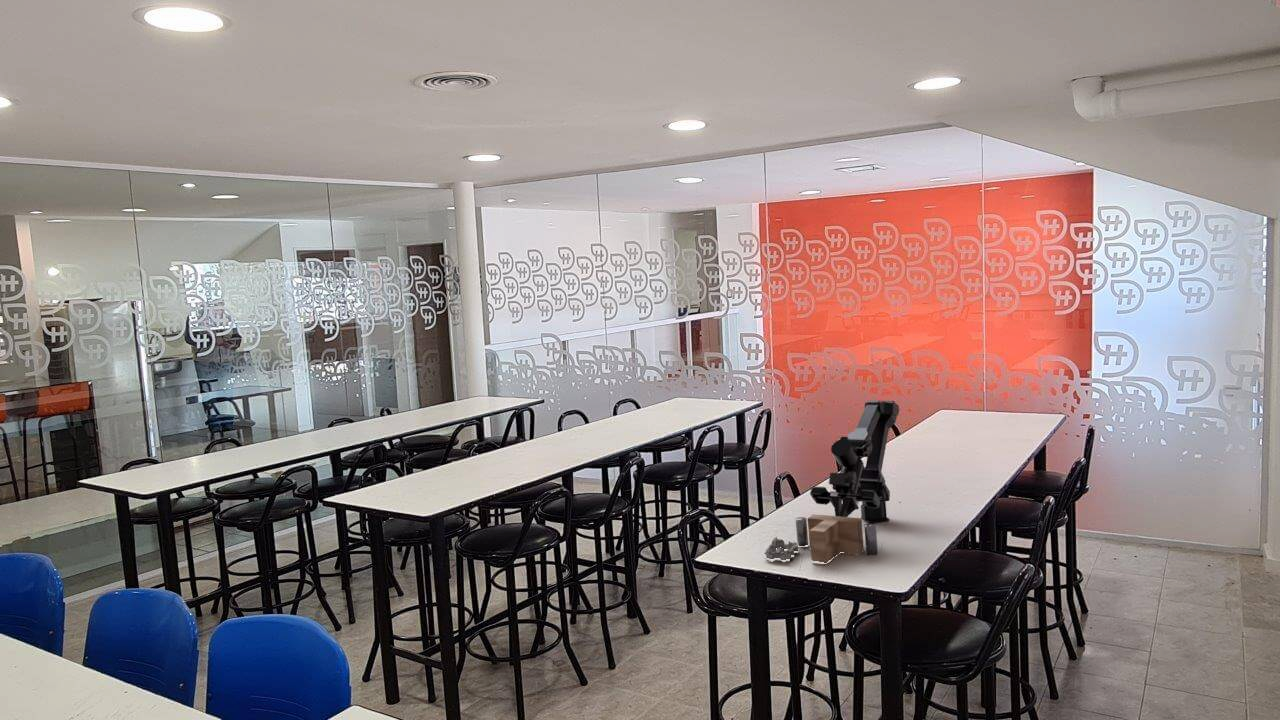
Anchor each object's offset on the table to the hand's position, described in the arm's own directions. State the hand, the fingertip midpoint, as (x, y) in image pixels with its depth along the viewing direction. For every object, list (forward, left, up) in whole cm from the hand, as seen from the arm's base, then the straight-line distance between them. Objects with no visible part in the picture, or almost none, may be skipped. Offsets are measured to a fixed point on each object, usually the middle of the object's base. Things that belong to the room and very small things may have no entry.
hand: (838, 523), depth 236 cm
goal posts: (+2, +2, -7) cm, 7 cm away
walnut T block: (+5, +5, -7) cm, 10 cm away
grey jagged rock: (+16, 0, -7) cm, 18 cm away
